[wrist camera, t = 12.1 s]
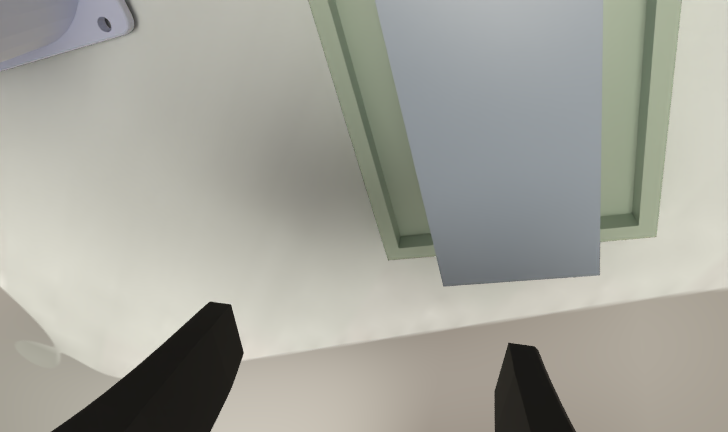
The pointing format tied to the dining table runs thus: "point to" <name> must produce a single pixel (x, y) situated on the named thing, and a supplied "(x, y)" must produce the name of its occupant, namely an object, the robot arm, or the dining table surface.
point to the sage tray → (619, 117)
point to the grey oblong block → (503, 131)
